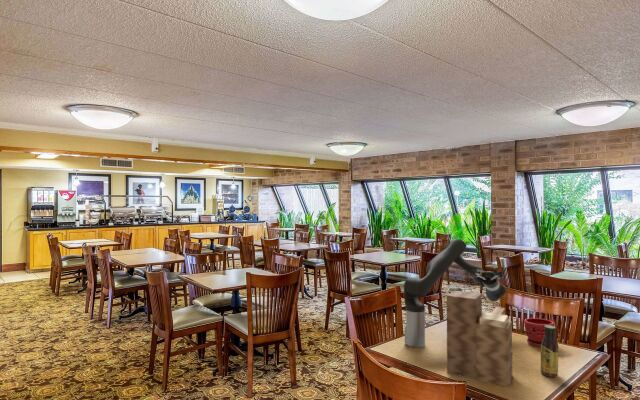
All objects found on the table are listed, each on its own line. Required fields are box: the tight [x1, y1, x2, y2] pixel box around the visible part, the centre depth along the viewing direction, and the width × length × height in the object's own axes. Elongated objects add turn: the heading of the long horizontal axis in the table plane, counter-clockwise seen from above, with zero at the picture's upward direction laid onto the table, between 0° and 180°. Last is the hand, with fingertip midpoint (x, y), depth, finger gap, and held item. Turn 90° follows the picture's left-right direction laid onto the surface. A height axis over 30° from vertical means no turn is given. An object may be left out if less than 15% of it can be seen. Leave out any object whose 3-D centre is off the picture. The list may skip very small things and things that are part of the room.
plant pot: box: [523, 317, 555, 348], centre depth 194 cm, size 13×13×12 cm
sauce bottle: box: [540, 325, 559, 378], centre depth 159 cm, size 6×6×20 cm
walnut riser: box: [446, 290, 513, 388], centre depth 160 cm, size 23×12×32 cm, turn 57°
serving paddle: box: [480, 306, 509, 328], centre depth 161 cm, size 9×22×2 cm, turn 147°
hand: (485, 269), depth 189 cm, fingers open, 8 cm apart
